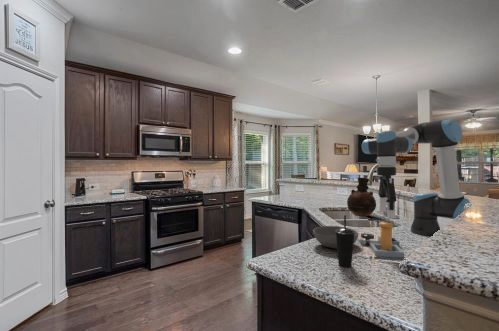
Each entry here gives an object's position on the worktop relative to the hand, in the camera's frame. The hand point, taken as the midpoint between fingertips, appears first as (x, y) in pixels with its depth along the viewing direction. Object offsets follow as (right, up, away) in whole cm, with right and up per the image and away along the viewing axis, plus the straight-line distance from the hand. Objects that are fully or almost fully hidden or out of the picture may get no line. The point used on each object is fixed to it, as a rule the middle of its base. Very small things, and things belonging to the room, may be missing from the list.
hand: (386, 214), depth 124 cm
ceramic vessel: (+27, -18, +94) cm, 100 cm away
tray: (0, -18, 0) cm, 18 cm away
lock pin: (0, -18, 0) cm, 18 cm away
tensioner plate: (+3, -18, +13) cm, 22 cm away
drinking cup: (-22, -19, -11) cm, 31 cm away
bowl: (-19, -18, +13) cm, 29 cm away
